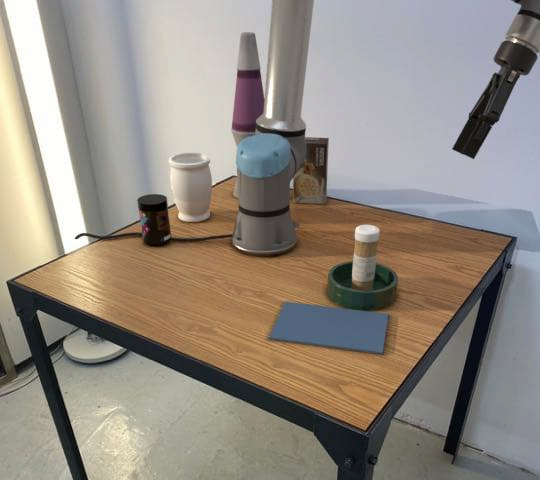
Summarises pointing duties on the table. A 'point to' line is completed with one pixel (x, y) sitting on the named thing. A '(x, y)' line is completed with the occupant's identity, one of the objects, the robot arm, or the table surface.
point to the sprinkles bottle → (364, 257)
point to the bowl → (360, 299)
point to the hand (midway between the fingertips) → (462, 154)
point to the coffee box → (312, 173)
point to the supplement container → (154, 219)
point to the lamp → (247, 92)
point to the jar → (191, 185)
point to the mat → (331, 327)
